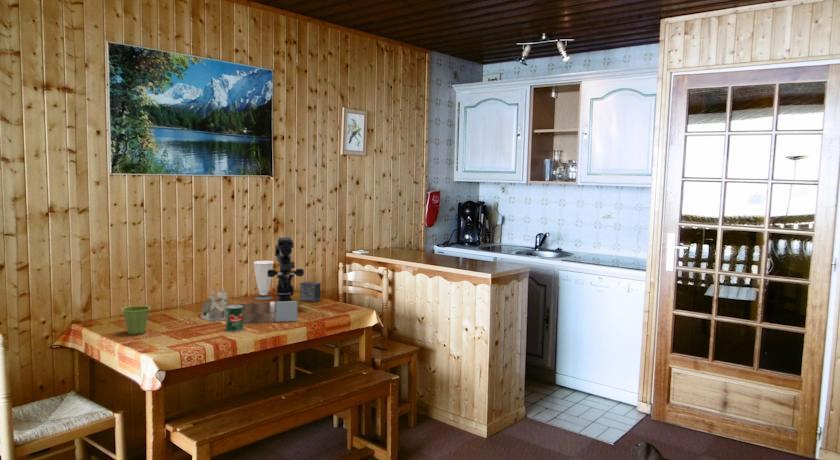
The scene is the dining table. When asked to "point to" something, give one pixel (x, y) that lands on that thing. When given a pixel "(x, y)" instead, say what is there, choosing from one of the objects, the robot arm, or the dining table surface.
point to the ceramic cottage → (215, 307)
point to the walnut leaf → (257, 313)
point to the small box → (310, 291)
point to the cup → (263, 278)
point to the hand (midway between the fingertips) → (286, 288)
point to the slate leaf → (285, 310)
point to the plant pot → (136, 318)
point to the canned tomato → (234, 317)
